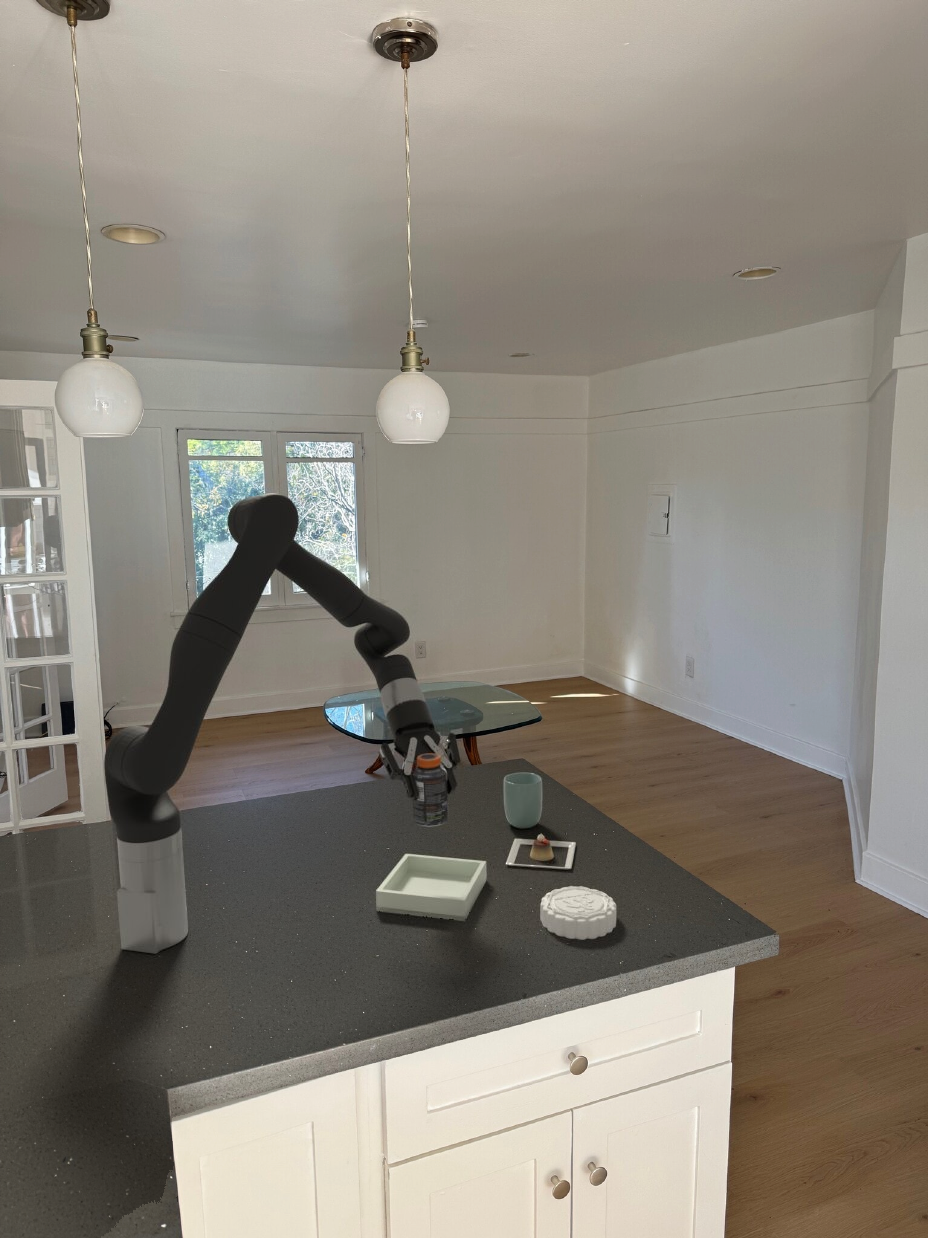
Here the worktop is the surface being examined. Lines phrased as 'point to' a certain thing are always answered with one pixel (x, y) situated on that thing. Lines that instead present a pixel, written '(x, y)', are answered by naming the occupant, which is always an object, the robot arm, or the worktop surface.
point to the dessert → (541, 851)
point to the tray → (432, 887)
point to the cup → (523, 799)
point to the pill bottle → (430, 791)
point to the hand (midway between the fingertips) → (434, 794)
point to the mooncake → (578, 912)
